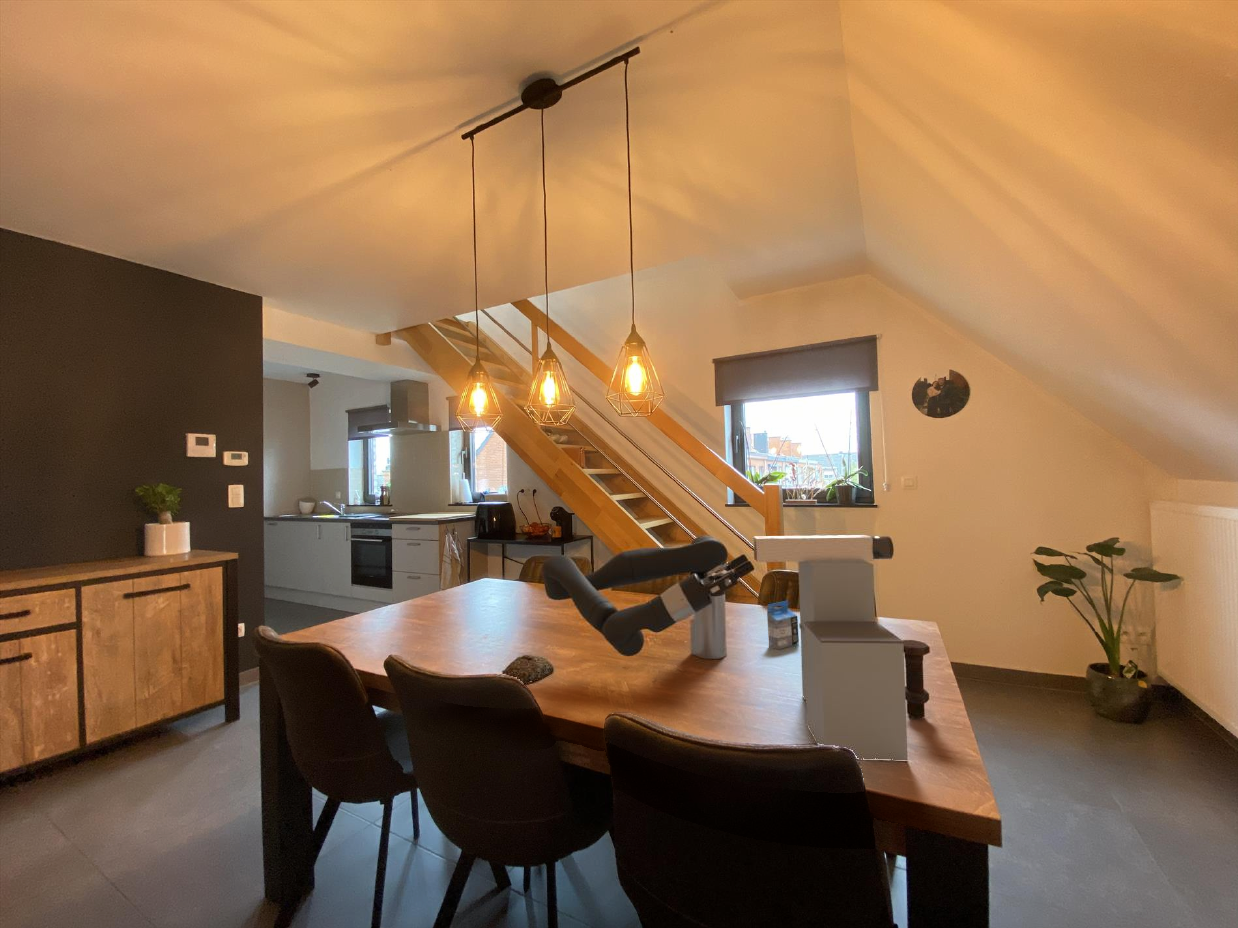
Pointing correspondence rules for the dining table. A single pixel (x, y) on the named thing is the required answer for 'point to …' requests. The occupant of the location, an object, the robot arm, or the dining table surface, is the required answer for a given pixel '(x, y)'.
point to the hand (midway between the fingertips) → (749, 560)
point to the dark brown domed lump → (529, 668)
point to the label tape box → (782, 626)
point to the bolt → (915, 677)
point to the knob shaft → (822, 548)
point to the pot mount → (850, 662)
